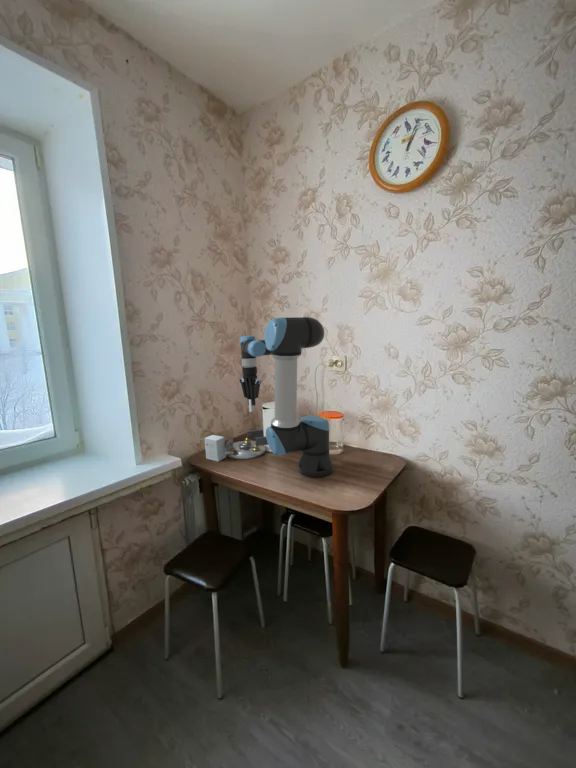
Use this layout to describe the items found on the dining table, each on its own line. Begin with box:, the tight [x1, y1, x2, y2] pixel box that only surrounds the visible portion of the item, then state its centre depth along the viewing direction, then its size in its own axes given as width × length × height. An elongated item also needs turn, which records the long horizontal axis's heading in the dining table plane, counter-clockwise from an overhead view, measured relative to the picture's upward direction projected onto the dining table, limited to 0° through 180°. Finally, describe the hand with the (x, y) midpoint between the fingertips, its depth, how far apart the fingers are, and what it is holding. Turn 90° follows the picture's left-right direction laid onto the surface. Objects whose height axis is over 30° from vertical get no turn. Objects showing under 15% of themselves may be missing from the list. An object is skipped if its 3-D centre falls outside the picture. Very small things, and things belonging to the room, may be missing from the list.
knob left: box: [225, 438, 235, 452], centre depth 159 cm, size 10×4×6 cm, turn 177°
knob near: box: [253, 435, 269, 451], centre depth 162 cm, size 10×4×6 cm, turn 103°
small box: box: [204, 434, 227, 462], centre depth 158 cm, size 8×6×10 cm
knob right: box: [243, 428, 264, 443], centre depth 173 cm, size 10×4×6 cm, turn 102°
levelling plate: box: [225, 440, 266, 460], centre depth 166 cm, size 20×20×4 cm
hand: (252, 411), depth 174 cm, fingers closed
